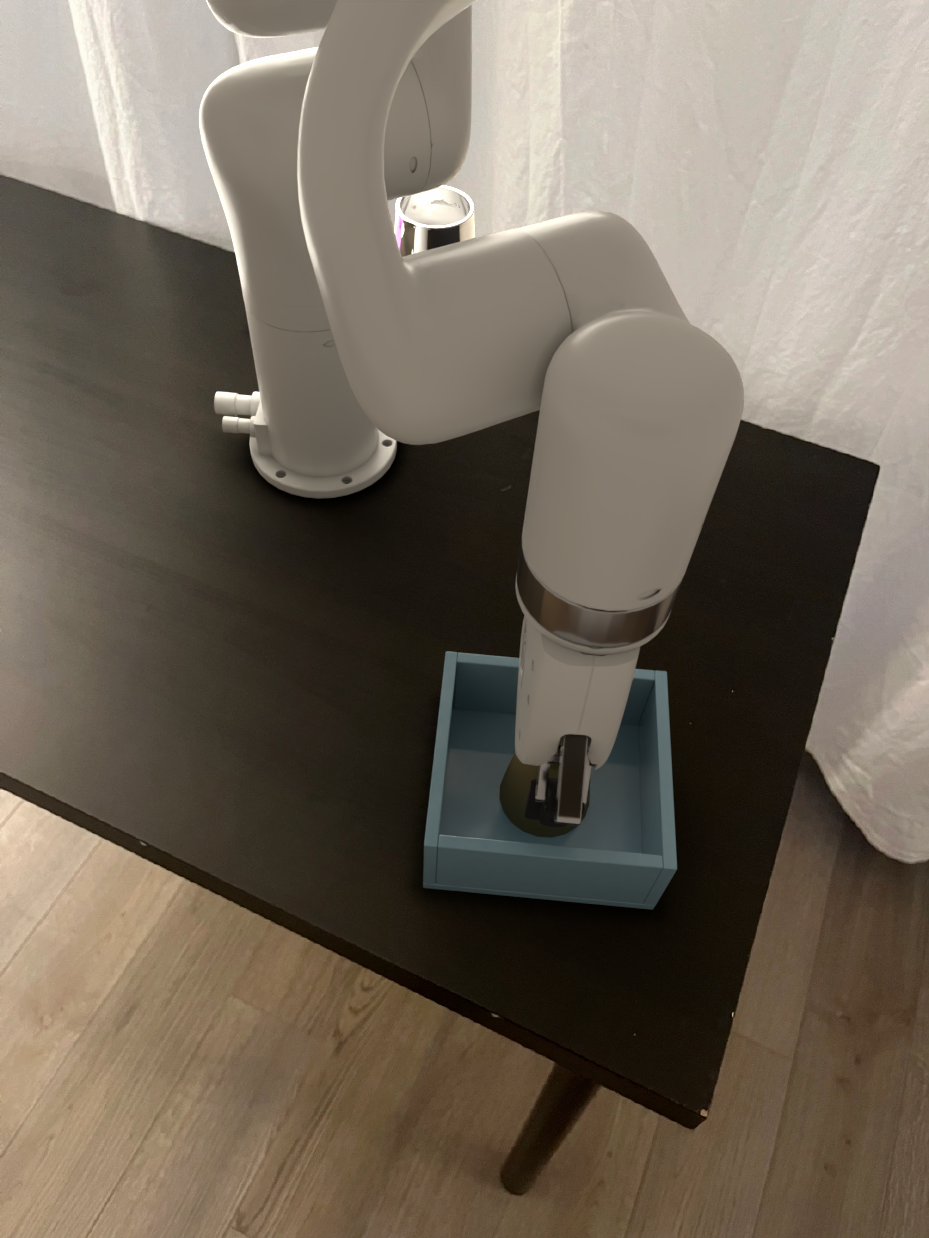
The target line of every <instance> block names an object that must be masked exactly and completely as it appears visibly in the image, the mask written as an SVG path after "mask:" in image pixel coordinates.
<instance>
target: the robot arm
mask: <svg viewBox="0 0 929 1238" xmlns="http://www.w3.org/2000/svg"><path fill="white" fill-rule="evenodd" d="M477 1H478V0H205V2H206V4H207V6H208V8H209V10H210V12H211V13H212V14H213V16H214V17H215V19H216V20H217V21H218V22H219V23H220V25H222V26H224V28H225V29H227V30H228V31H229V32H232V33H234V34H237V35H239V36H242V37H247V38H256V39H267V38H269V39H271V38H280V37H289V36H296V35H302V34H310V33H315V32H322V31H324V32H323V34H322V37H321V39H320V42H319V44H318V46H316V47H310V48H305V49H300V50H295V51H294V50H293V51H290V52H284V53H278V54H274V55H272V54H271V55H268V56H263V57H259V58H255V59H252V60H248V61H245V62H242V63H240V64H238V65H235V66H233V67H231V68H229V69H228V70H225V71H224V72H223V73H221V74H219V76H217V77H216V78H215V79H214V80H213V81H212V82H211V83H210V84H209V86H208V87H207V89H206V90H205V92H204V94H203V96H202V98H201V100H200V101H201V102H200V105H199V113H198V125H199V126H198V127H199V132H200V138H201V144H202V147H203V150H204V154H205V158H206V161H207V165H208V167H209V170H210V173H211V176H212V179H213V182H214V185H215V188H216V190H217V193H218V196H219V200H220V203H221V205H222V209H223V211H224V215H225V218H226V219H225V220H226V222H227V225H228V229H229V232H230V233H229V234H230V236H231V240H232V245H233V249H234V250H233V251H234V254H235V258H236V260H235V261H236V265H237V269H238V275H239V280H240V287H241V292H242V299H243V302H244V308H245V309H244V310H245V314H246V321H247V326H248V332H249V333H248V334H249V338H250V344H251V349H252V350H251V351H252V356H253V362H254V368H255V374H256V381H257V385H258V391H253V392H252V393H251V395H250V394H249V395H247V394H239V393H238V392H229V391H216V392H215V395H214V397H213V398H214V399H213V409H214V413H215V414H216V415H221V416H222V421H221V431H222V433H227V434H228V433H229V434H247V435H249V443H248V444H249V450H250V451H249V452H250V456H251V460H252V463H253V466H254V468H255V469H256V470H257V472H258V473H259V475H260V476H261V477H262V478H263V479H264V480H265V481H266V482H267V483H269V484H270V485H272V486H273V487H275V488H276V489H278V490H280V491H283V492H285V493H287V494H290V495H294V496H299V497H301V498H310V499H335V498H338V497H339V498H341V497H344V496H345V497H346V496H348V495H352V494H354V493H358V492H360V491H362V490H365V489H366V488H368V487H370V486H372V485H373V484H375V483H376V482H377V481H379V480H380V479H381V478H382V477H383V476H384V475H385V474H386V473H387V472H388V471H389V470H390V469H391V467H392V464H393V462H394V460H395V459H396V455H397V450H398V442H399V443H402V444H406V445H411V446H422V445H423V446H424V445H433V444H438V443H443V442H447V441H450V440H453V439H457V438H460V437H463V436H467V435H470V434H473V433H476V432H478V431H482V430H485V429H487V428H490V427H493V426H495V425H499V424H502V423H505V422H508V421H511V420H513V419H514V420H515V419H517V418H519V417H523V416H526V415H529V414H532V413H535V412H538V411H539V413H538V414H539V415H538V421H537V428H536V433H535V434H536V435H535V441H534V449H533V456H532V462H531V470H530V477H529V484H528V491H527V497H526V505H525V511H524V519H523V524H522V525H523V526H522V531H521V540H520V546H519V553H518V561H517V567H516V575H515V582H514V583H515V585H514V587H515V596H516V599H517V602H518V605H519V607H520V609H521V612H522V613H523V615H524V616H523V619H522V626H521V634H520V642H519V643H520V645H519V657H518V658H519V671H518V687H517V706H516V726H515V753H516V755H517V757H518V759H519V760H520V761H521V762H522V763H523V764H528V765H534V766H538V773H537V779H534V780H531V783H530V788H529V792H528V797H527V801H526V806H525V818H527V819H533V820H540V823H541V824H542V825H544V826H549V827H564V826H566V825H577V826H580V823H581V815H582V814H583V811H584V807H585V806H586V803H587V798H588V795H589V782H590V775H591V768H592V766H593V769H594V770H597V769H598V768H600V767H601V766H602V765H603V764H604V763H605V762H606V761H607V759H608V757H609V755H610V753H611V750H612V748H613V745H614V743H615V740H616V737H617V733H618V730H619V727H620V724H621V720H622V717H623V714H624V710H625V706H626V703H627V699H628V695H629V692H630V688H631V684H632V680H633V679H634V677H635V673H634V672H635V669H637V668H636V667H637V663H638V660H639V655H640V650H641V647H642V646H643V645H645V644H647V643H649V642H650V641H652V640H653V639H654V638H655V637H657V636H658V635H659V633H660V632H661V631H662V630H663V629H664V627H665V626H666V624H667V622H668V620H669V618H670V615H671V613H672V609H673V607H674V604H675V601H676V599H677V597H678V594H679V591H680V588H681V585H682V583H683V580H684V578H685V576H686V575H685V574H686V572H687V569H688V566H689V564H690V561H691V558H692V555H693V553H694V550H695V547H696V545H697V542H698V539H699V536H700V534H701V531H702V529H703V526H704V523H705V521H706V517H707V515H708V513H709V510H710V507H711V504H712V502H713V500H714V497H715V493H716V491H717V488H718V485H719V483H720V480H721V477H722V475H723V472H724V469H725V467H726V464H727V462H728V458H729V456H730V453H731V451H732V447H733V446H734V442H735V440H736V438H737V433H738V431H739V427H740V423H741V420H742V416H743V414H744V413H743V412H744V406H745V389H744V382H743V379H742V375H741V372H740V370H739V368H738V366H737V364H736V363H735V361H734V358H733V357H732V355H731V353H729V351H728V350H727V349H726V348H725V347H724V345H722V344H721V343H720V342H719V341H718V340H717V339H716V338H714V337H713V336H711V335H710V334H709V333H707V332H705V331H704V330H702V329H701V328H699V327H697V326H695V325H693V324H692V323H691V322H690V320H689V319H688V317H687V315H686V313H685V312H684V310H683V308H682V307H681V305H680V303H679V302H678V300H677V298H676V295H675V294H674V292H673V290H672V288H671V285H670V284H669V282H668V280H667V278H666V276H665V273H664V272H663V270H662V267H661V266H660V264H659V262H658V260H657V258H656V256H655V254H654V253H653V251H652V249H651V247H650V246H649V244H648V243H647V242H646V240H645V238H644V237H643V236H642V234H641V233H640V232H639V231H638V230H637V229H636V227H635V226H634V225H633V224H632V223H630V222H629V221H628V220H626V219H625V218H624V217H622V216H621V215H618V214H616V213H614V212H610V211H604V210H583V211H579V212H572V213H569V214H565V215H561V216H557V217H553V218H549V219H545V220H542V221H537V222H535V223H530V224H527V225H522V226H519V227H515V228H511V229H509V228H507V229H503V230H500V231H499V230H498V231H495V232H491V233H488V234H484V235H480V236H475V238H472V239H468V240H465V241H461V242H457V243H453V244H449V245H446V246H442V247H438V248H434V249H430V250H426V251H422V252H418V253H414V254H411V255H408V256H404V257H402V256H401V253H400V250H399V247H398V243H397V239H396V236H395V232H394V229H395V228H394V225H393V220H392V216H391V212H390V208H389V202H390V201H393V200H397V199H398V198H402V197H406V196H410V195H414V194H418V193H421V192H425V191H429V190H432V189H435V188H438V187H440V186H442V185H444V186H445V185H446V184H449V183H450V182H451V181H452V180H453V179H455V178H456V177H457V175H458V174H459V173H460V172H461V170H462V168H463V166H464V165H465V161H466V160H467V157H468V153H469V148H470V141H471V130H472V107H473V105H472V101H473V99H472V97H473V4H475V3H476V2H477ZM238 416H247V417H250V418H243V417H242V418H241V417H238ZM561 737H562V738H561ZM560 738H561V745H559V742H560ZM550 763H556V764H559V773H558V778H552V777H548V776H549V768H550Z"/></svg>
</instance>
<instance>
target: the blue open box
mask: <svg viewBox="0 0 929 1238" xmlns="http://www.w3.org/2000/svg"><path fill="white" fill-rule="evenodd" d="M443 662H444V663H443V672H442V678H441V680H442V681H441V689H440V696H439V697H440V699H439V706H438V716H437V725H436V732H435V733H436V735H435V741H434V742H435V743H434V752H433V759H432V769H431V777H430V787H429V794H428V804H427V813H426V821H425V822H426V823H425V831H424V840H423V861H422V862H423V864H422V865H423V866H422V867H423V868H422V869H423V870H422V888H424V889H431V890H442V891H453V892H461V893H462V892H463V893H473V894H475V893H476V894H485V895H495V896H505V897H515V898H528V899H537V900H545V901H546V900H548V901H559V902H569V903H578V904H588V905H589V904H590V905H601V906H609V907H610V906H611V907H620V908H631V909H632V908H633V909H641V910H652V911H653V910H654V909H655V908H656V906H657V905H658V903H659V901H660V900H661V898H662V897H663V894H664V892H665V891H666V889H667V887H668V886H669V884H670V883H671V880H672V879H673V878H674V875H676V872H677V871H678V857H677V840H676V819H675V800H674V780H673V763H672V761H673V760H672V744H671V743H672V741H671V726H670V725H671V724H670V706H669V705H670V704H669V687H668V686H669V685H668V672H667V671H666V670H653V669H644V668H643V669H642V668H635V672H634V673H635V677H634V679H633V680H632V684H631V688H630V692H629V695H628V699H627V703H626V706H625V710H624V714H623V717H622V720H621V724H620V727H619V730H618V733H617V737H616V740H615V743H614V745H613V748H612V750H611V753H610V755H609V757H608V759H607V761H606V762H605V763H604V764H603V765H602V766H601V767H600V768H598V769H597V770H594V769H593V766H592V768H591V777H590V799H589V807H588V810H587V813H586V816H585V818H584V819H583V820H582V821H581V823H580V826H577V827H576V828H575V829H573V830H572V831H570V832H568V833H567V834H565V835H561V836H556V837H552V838H549V837H537V836H534V835H531V834H528V833H526V832H523V831H522V830H520V829H519V828H518V827H516V826H515V825H514V824H512V823H511V821H510V820H509V818H508V817H507V816H506V814H505V813H504V811H503V808H502V805H501V802H500V799H499V798H500V784H501V782H502V779H503V776H504V774H505V772H506V770H507V768H508V766H509V763H510V761H511V759H512V757H513V755H514V753H515V726H516V706H517V687H518V671H519V657H511V656H503V655H502V656H501V655H492V654H491V655H489V654H479V653H468V652H457V651H449V650H448V651H445V653H444V661H443Z"/></svg>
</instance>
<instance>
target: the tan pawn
mask: <svg viewBox="0 0 929 1238" xmlns="http://www.w3.org/2000/svg"><path fill="white" fill-rule="evenodd" d="M561 738H562V737H561ZM561 738H560V742H559V745H561ZM537 773H538V766H534V765H528V764H523V763H522V762H521V761H520V760H519V759H518V757H517V755H516V753H514V755H513V757H512V759H511V761H510V763H509V766H508V768H507V770H506V772H505V774H504V776H503V779H502V782H501V784H500V798H499V799H500V802H501V805H502V808H503V811H504V813H505V814H506V816H507V817H508V818H509V820H510V821H511V823H512V824H514V825H515V826H516V827H518V828H519V829H520V830H522V831H523V832H526V833H528V834H531V835H534V836H537V837H549V838H552V837H556V836H561V835H565V834H567V833H568V832H570V831H572V830H573V829H575V828H576V827H577V825H566V826H564V827H549V826H544V825H542V824H541V823H540V820H533V819H527V818H525V806H526V801H527V797H528V792H529V788H530V783H531V780H534V779H537ZM558 773H559V764H556V763H550V768H549V776H548V777H552V778H558ZM590 777H591V775H590ZM589 799H590V782H589V795H588V798H587V803H586V806H585V807H584V811H583V814H582V815H581V821H582V820H583V819H584V818H585V816H586V813H587V810H588V807H589Z"/></svg>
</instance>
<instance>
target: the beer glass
mask: <svg viewBox="0 0 929 1238" xmlns="http://www.w3.org/2000/svg"><path fill="white" fill-rule="evenodd" d="M393 229H394V232H395V236H396V239H397V243H398V247H399V250H400V253H401V256H402V257H404V256H408V255H411V254H414V253H418V252H422V251H426V250H430V249H434V248H438V247H442V246H446V245H449V244H453V243H457V242H461V241H465V240H468V239H472V238H476V233H475V232H476V231H475V229H476V227H475V203H474V201H473V200H472V198H471V197H470V196H469V195H468V194H467V193H466V192H464V191H462V190H460V189H458V188H455V187H453V186H450V185H449V186H448V185H445V184H444V185H442V186H440V187H438V188H435V189H432V190H429V191H425V192H421V193H418V194H414V195H410V196H406V197H402V198H398V199H396V202H395V216H394V228H393Z"/></svg>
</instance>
